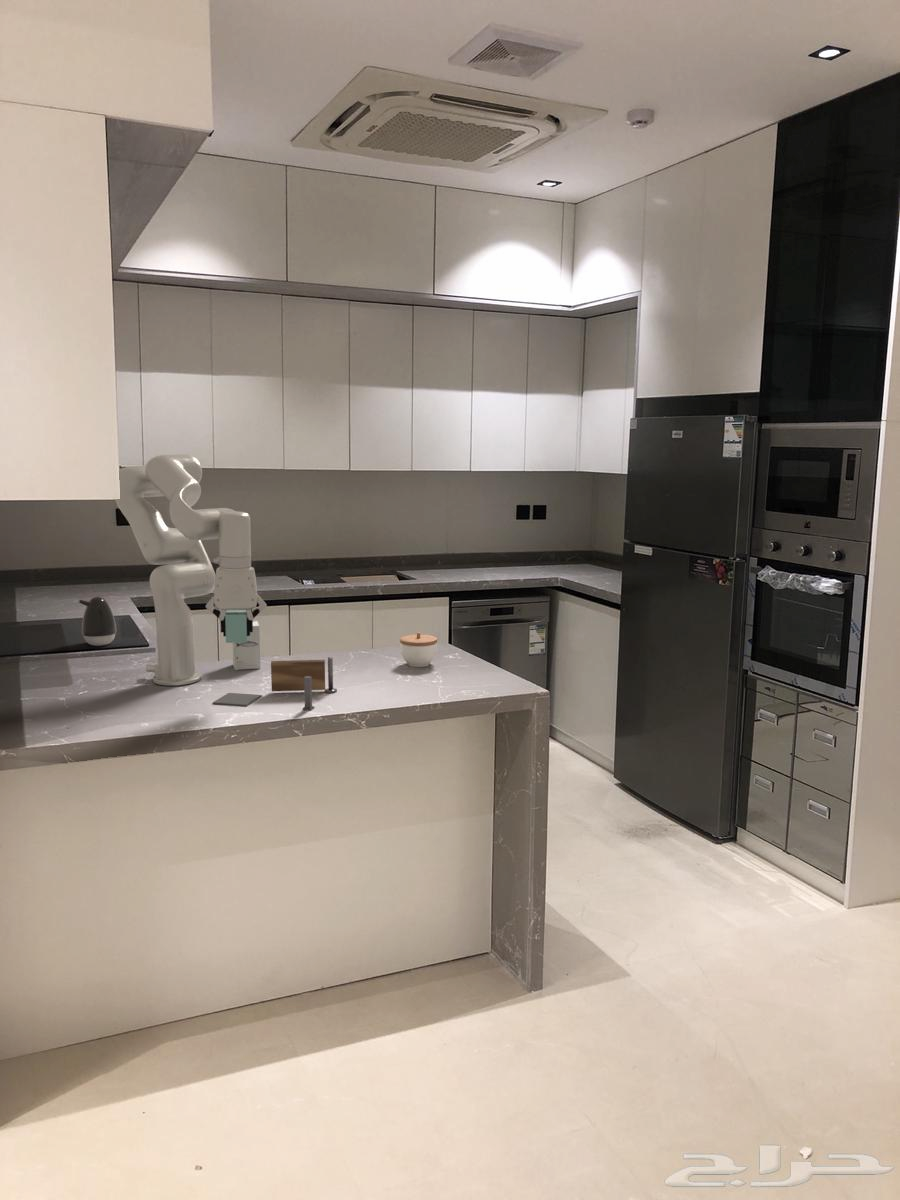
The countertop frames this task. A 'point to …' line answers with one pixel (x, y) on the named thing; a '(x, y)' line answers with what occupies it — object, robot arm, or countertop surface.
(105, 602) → the pump dispenser
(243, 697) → the mat
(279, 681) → the gate
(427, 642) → the lidded jar
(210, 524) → the robot arm
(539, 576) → the countertop surface
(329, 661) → the gate post
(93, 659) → the countertop surface
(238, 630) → the block
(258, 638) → the supplement box
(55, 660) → the countertop surface
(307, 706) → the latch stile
